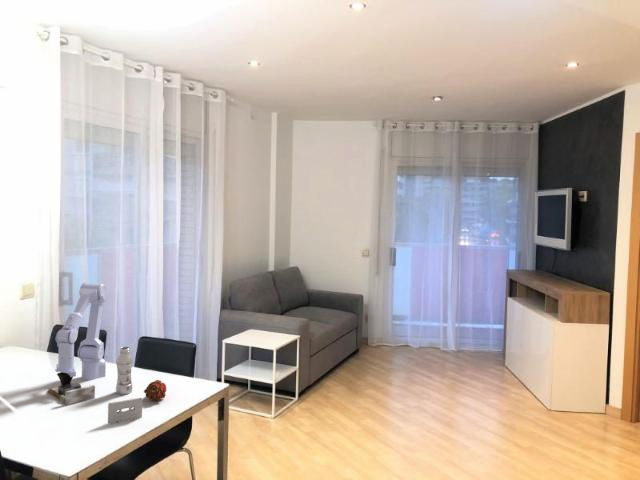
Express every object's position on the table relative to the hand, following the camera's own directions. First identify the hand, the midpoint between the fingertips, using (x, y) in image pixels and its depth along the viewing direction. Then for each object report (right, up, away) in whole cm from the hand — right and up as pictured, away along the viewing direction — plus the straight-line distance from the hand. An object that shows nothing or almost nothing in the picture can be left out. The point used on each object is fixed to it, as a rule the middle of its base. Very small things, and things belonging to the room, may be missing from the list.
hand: (65, 389), depth 204 cm
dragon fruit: (+38, -4, -1) cm, 38 cm away
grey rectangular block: (+3, -1, -2) cm, 4 cm away
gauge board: (+3, -2, -3) cm, 5 cm away
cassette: (+34, -5, -22) cm, 41 cm away
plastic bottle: (+24, -3, +2) cm, 24 cm away
